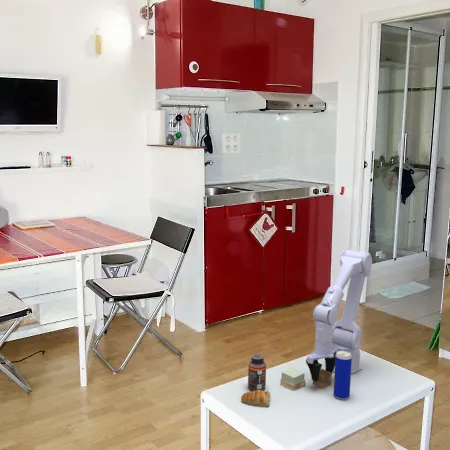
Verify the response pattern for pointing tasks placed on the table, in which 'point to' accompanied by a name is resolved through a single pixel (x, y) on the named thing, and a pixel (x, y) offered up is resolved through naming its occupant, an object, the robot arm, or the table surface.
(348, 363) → the beverage can
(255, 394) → the pastry
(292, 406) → the table surface
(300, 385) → the tower base
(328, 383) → the walnut cube
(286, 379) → the tower top
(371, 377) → the table surface
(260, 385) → the supplement bottle
